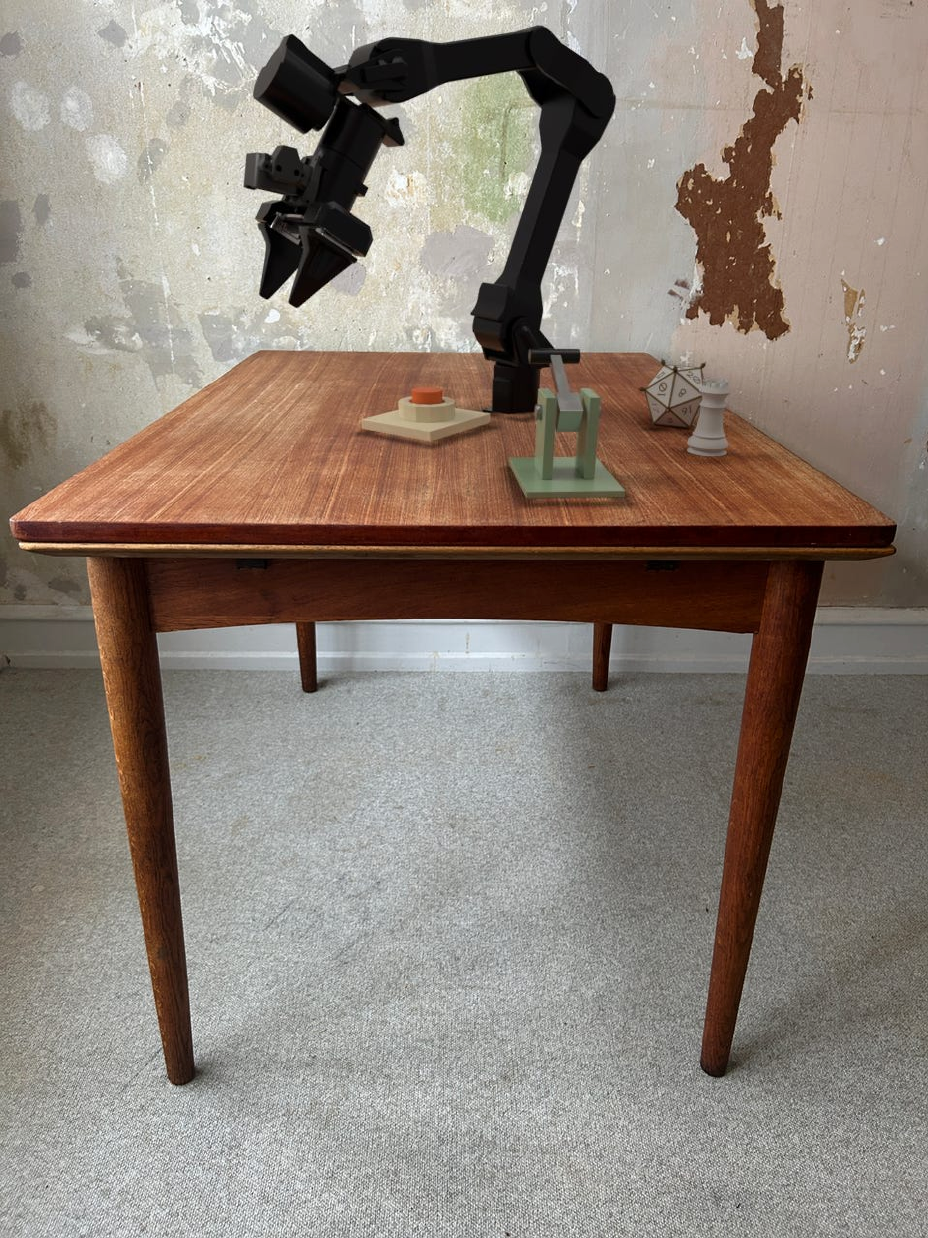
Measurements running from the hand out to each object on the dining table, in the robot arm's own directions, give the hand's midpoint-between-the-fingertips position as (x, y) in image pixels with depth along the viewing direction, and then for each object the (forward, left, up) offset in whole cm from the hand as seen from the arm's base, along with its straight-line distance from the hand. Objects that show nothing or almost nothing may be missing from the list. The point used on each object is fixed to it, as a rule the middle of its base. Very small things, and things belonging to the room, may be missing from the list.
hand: (277, 301), depth 94 cm
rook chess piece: (-22, +41, -15) cm, 49 cm away
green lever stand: (-3, +34, -15) cm, 37 cm away
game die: (-32, +33, -15) cm, 48 cm away
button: (-13, +10, -12) cm, 20 cm away
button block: (-13, +10, -15) cm, 22 cm away
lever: (-6, +31, -7) cm, 33 cm away
